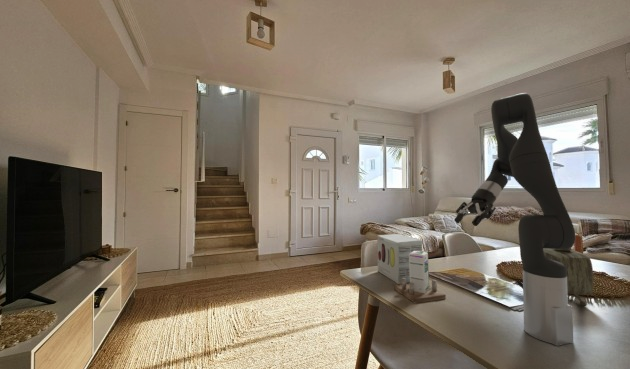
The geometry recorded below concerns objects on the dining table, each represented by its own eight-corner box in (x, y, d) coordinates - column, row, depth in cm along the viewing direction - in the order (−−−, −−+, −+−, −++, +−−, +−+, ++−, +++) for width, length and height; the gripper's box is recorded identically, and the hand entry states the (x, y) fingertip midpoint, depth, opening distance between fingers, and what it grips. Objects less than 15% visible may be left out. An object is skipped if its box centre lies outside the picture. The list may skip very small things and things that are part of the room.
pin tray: (445, 298, 94) (445, 283, 94) (415, 303, 90) (414, 287, 90) (422, 285, 106) (422, 272, 106) (395, 289, 103) (394, 275, 103)
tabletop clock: (594, 309, 84) (592, 234, 85) (562, 307, 86) (560, 233, 87) (561, 292, 99) (559, 228, 99) (534, 290, 100) (533, 227, 101)
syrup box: (425, 293, 94) (424, 255, 95) (409, 290, 98) (408, 252, 98) (429, 289, 99) (428, 251, 99) (413, 285, 103) (413, 249, 103)
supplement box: (376, 271, 125) (376, 235, 125) (399, 269, 129) (399, 233, 129) (398, 284, 108) (397, 242, 109) (423, 280, 112) (422, 239, 113)
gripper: (466, 188, 111) (445, 215, 107) (497, 187, 97) (474, 218, 93) (476, 200, 112) (456, 227, 108) (508, 201, 98) (486, 232, 95)
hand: (464, 223), depth 101 cm, fingers open, 8 cm apart
